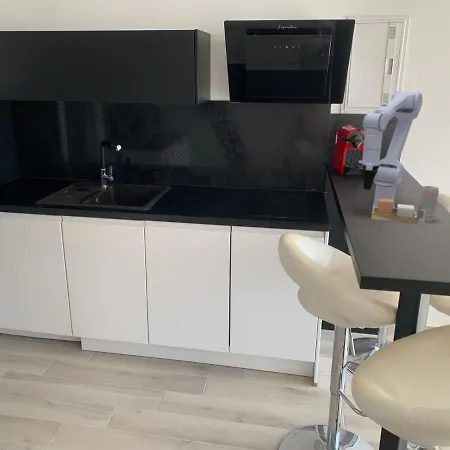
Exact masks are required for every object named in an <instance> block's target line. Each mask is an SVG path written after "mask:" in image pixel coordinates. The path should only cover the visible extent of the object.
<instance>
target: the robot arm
mask: <svg viewBox="0 0 450 450" xmlns="http://www.w3.org/2000/svg"><path fill="white" fill-rule="evenodd" d="M422 106H423V94H422V93H421V92H420V91H415V92H414V91H394V92H393V93H392V95H391V99H390V101H389V102H388V103H387V102H383V103H382V104H381V105H380V106H379V107H378V108H377V109H375V110H374V111H373V112H368V113H367V114H365V115H364V117H363V120H362V127H363V135H364V139H363V140H364V141H363V150H362V152H363V153H362V159H361V160H358V163H359V164H362V168H360V173H361V175H362V181H363V190H366V191H371V189H372V185H373V182H374V185H375V192H374V200H373V201H374V202H373V203H372V209H373V208H378V201H379V198H381V199H392V200H393V208H395V209H396V207H395V206H396V205H395V199H396V190H397V187H398V186H399V185H400V184H401V183H402V181H403V178H404V171H405V168H404V165H403V163H401V161H400V159H401V156H402V153H403V150H404V147H405V144H406V141H407V137H408V135H409V132H410V131H411V126H412V124H413V120H415V119H417V118H418V117H419V114H420V112H421V108H422ZM394 117H395V118H397V123H396V126H395V129H394V132H393V135H392V137H391V140H390V143H389V146H388V149H387V152H386V155H385V157H384V158H381V150H382V142H383V135H384V134H383V133H384V131H385V130H386V129H387V126H388V124H389V121H391V120H392V119H393V118H394Z"/></svg>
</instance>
